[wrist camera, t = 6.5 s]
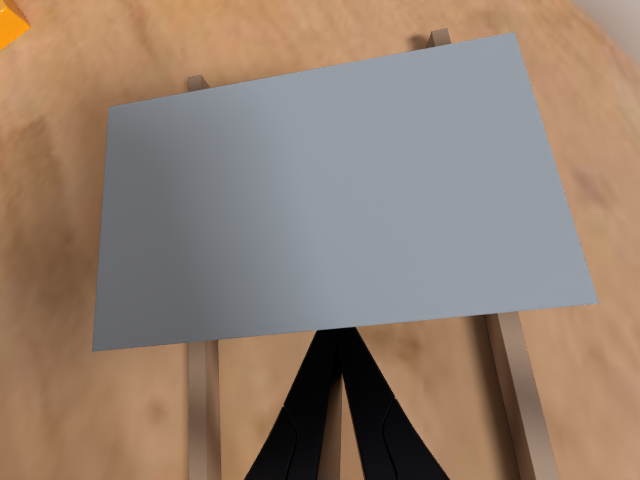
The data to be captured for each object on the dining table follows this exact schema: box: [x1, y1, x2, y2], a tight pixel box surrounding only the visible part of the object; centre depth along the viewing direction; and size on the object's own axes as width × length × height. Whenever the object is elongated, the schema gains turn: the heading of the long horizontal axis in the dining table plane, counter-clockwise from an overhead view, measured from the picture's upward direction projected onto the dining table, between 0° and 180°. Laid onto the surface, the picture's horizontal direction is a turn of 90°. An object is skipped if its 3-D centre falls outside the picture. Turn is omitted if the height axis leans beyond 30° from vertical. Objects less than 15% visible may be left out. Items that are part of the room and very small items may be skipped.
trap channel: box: [188, 28, 560, 480], centre depth 16 cm, size 33×18×2 cm, turn 6°
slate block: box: [92, 32, 599, 352], centre depth 11 cm, size 6×10×11 cm, turn 96°
